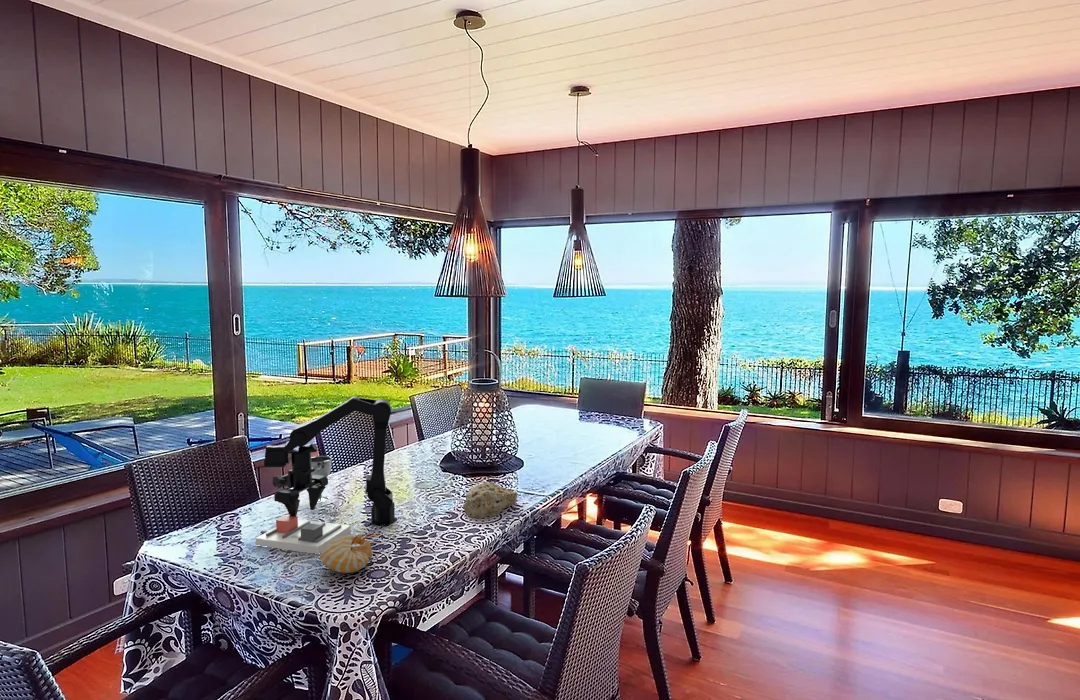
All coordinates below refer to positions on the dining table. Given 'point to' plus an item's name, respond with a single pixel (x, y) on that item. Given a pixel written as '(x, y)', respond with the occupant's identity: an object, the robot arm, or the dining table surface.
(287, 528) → the red switch
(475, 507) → the rock
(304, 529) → the grey cube
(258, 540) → the white flat slab
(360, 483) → the dining table surface
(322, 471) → the wine glass
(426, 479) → the dining table surface
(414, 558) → the dining table surface
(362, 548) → the nautilus
